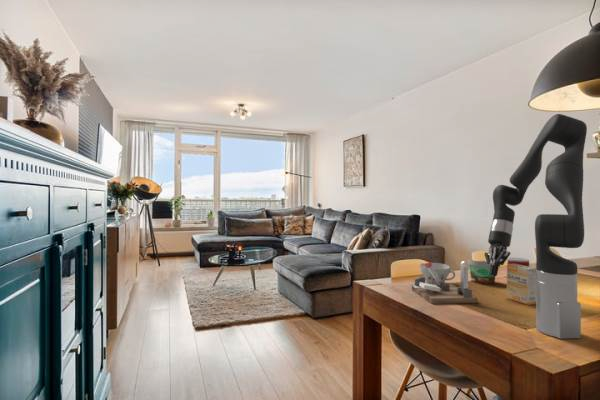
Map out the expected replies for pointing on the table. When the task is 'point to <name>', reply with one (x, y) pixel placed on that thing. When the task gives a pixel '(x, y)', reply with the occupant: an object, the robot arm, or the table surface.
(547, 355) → the table surface
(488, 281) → the food container
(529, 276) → the supplement box
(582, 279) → the table surface
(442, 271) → the teacup
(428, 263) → the red toggle
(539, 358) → the table surface
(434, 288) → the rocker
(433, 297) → the panel
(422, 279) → the button
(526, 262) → the canned food
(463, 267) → the grey metal bar
